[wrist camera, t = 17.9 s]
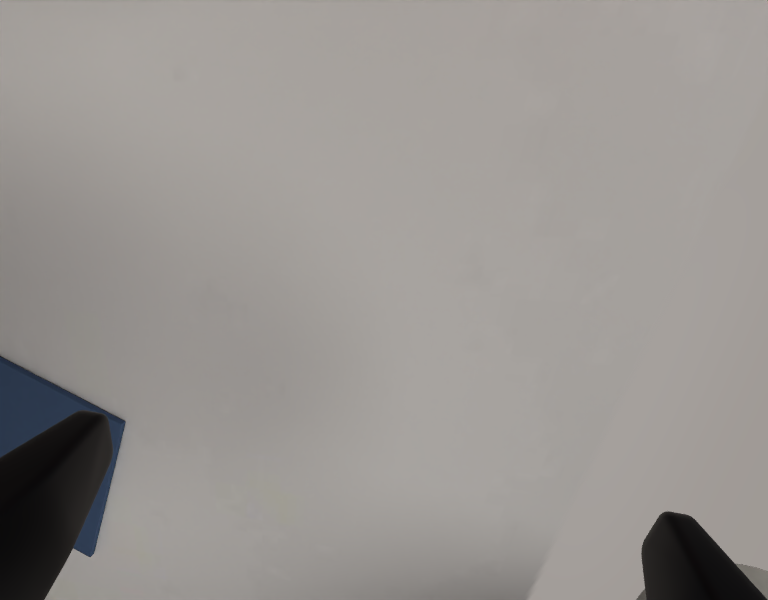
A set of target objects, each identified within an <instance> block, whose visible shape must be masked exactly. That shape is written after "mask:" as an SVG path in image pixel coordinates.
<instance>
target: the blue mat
mask: <svg viewBox="0 0 768 600" xmlns="http://www.w3.org/2000/svg"><path fill="white" fill-rule="evenodd" d="M80 410H86V411H92V412H98V413H103V414H105V415H106V416H107V418H108V421H109V426H110V432H111V438H112V444H113V456H112V460H111V463H110V465H109V468H108V470H107V472H106V474H105V477H104V479H103V481H102V484H101V486H100V488H99V490H98V493H97V495H96V497H95V500H94V502H93V504H92V506H91V509H90V511H89V513H88V516H87V518H86V520H85V522H84V525H83V527H82V529H81V532H80V534H79V536H78V538H77V540H76V543H75V545H74V547H73V548H74V549H76V550H78V551H80V552H81V553H83V554H85V555H87V556H89V557H91V556H92V555H93V554H94V551H95V547H96V543H97V538H98V534H99V530H100V526H101V522H102V518H103V513H104V509H105V505H106V501H107V497H108V493H109V488H110V484H111V480H112V476H113V472H114V468H115V463H116V459H117V455H118V451H119V447H120V443H121V439H122V434H123V430H124V426H125V421H123V420H121V419H119V418H118V417H116V416H114V415H112V414H110V413H108V412H106V411H104V410H102V409H100V408H98V407H96V406H94V405H93V404H91V403H89V402H87V401H85V400H83V399H81V398H79V397H77V396H75V395H73V394H71V393H69V392H67V391H66V390H64V389H62V388H60V387H58V386H56V385H54V384H52V383H50V382H48V381H46V380H44V379H42V378H41V377H39V376H37V375H35V374H33V373H31V372H29V371H27V370H25V369H23V368H21V367H19V366H17V365H16V364H14V363H12V362H10V361H8V360H6V359H4V358H2V357H0V457H2V456H3V455H5V454H7V453H8V452H10V451H12V450H13V449H15V448H17V447H18V446H20V445H22V444H23V443H25V442H27V441H28V440H30V439H32V438H33V437H35V436H37V435H38V434H40V433H42V432H43V431H45V430H47V429H48V428H50V427H52V426H53V425H55V424H57V423H58V422H60V421H62V420H63V419H65V418H67V417H68V416H70V415H72V414H73V413H75V412H77V411H80Z"/></svg>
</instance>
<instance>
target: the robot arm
mask: <svg viewBox="0 0 768 600" xmlns="http://www.w3.org/2000/svg"><path fill="white" fill-rule="evenodd" d="M112 456H113V444H112V438H111V432H110V426H109V421H108V418H107V416H106V415H105V414H103V413H98V412H92V411H86V410H80V411H77V412H75V413H73V414H72V415H70V416H68V417H67V418H65V419H63V420H62V421H60V422H58V423H57V424H55V425H53V426H52V427H50V428H48V429H47V430H45V431H43V432H42V433H40V434H38V435H37V436H35V437H33V438H32V439H30V440H28V441H27V442H25V443H23V444H22V445H20V446H18V447H17V448H15V449H13V450H12V451H10V452H8V453H7V454H5V455H3V456H2V457H0V600H44V599H45V597H46V596H47V594H48V592H49V590H50V589H51V587H52V585H53V583H54V582H55V580H56V578H57V576H58V575H59V573H60V571H61V569H62V568H63V566H64V564H65V562H66V560H67V559H68V557H69V555H70V553H71V551H72V549H73V547H74V545H75V543H76V540H77V538H78V536H79V534H80V532H81V529H82V527H83V525H84V522H85V520H86V518H87V516H88V513H89V511H90V509H91V506H92V504H93V502H94V500H95V497H96V495H97V493H98V490H99V488H100V486H101V484H102V481H103V479H104V477H105V474H106V472H107V470H108V468H109V465H110V463H111V460H112ZM642 564H643V573H644V581H645V590H646V599H647V600H767V599H766V598H765V597H764V595H763V594H762V593H761V592H760V591H759V590H758V589H757V588H756V587H755V586H754V584H753V583H752V582H751V581H750V580H749V579H748V578H747V577H746V576H745V574H744V573H743V572H742V571H741V570H740V569H739V568H738V567H737V566H736V564H735V563H734V562H733V561H732V560H731V559H730V558H729V557H728V556H727V555H726V553H725V552H724V551H723V550H722V549H721V548H720V547H719V546H718V545H717V543H716V542H715V541H714V540H713V539H712V538H711V537H710V536H709V535H708V534H707V532H706V531H705V530H704V529H703V528H702V527H701V526H700V525H699V524H698V522H696V520H695V519H693V518H692V517H691V516H689V515H685V514H680V513H674V512H664V513H662V514H661V515H660V516H659V518H658V519H657V521H656V522H655V524H654V525H653V527H652V528H651V530H650V532H649V533H648V535H647V536H646V538H645V540H644V542H643V545H642Z"/></svg>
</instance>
